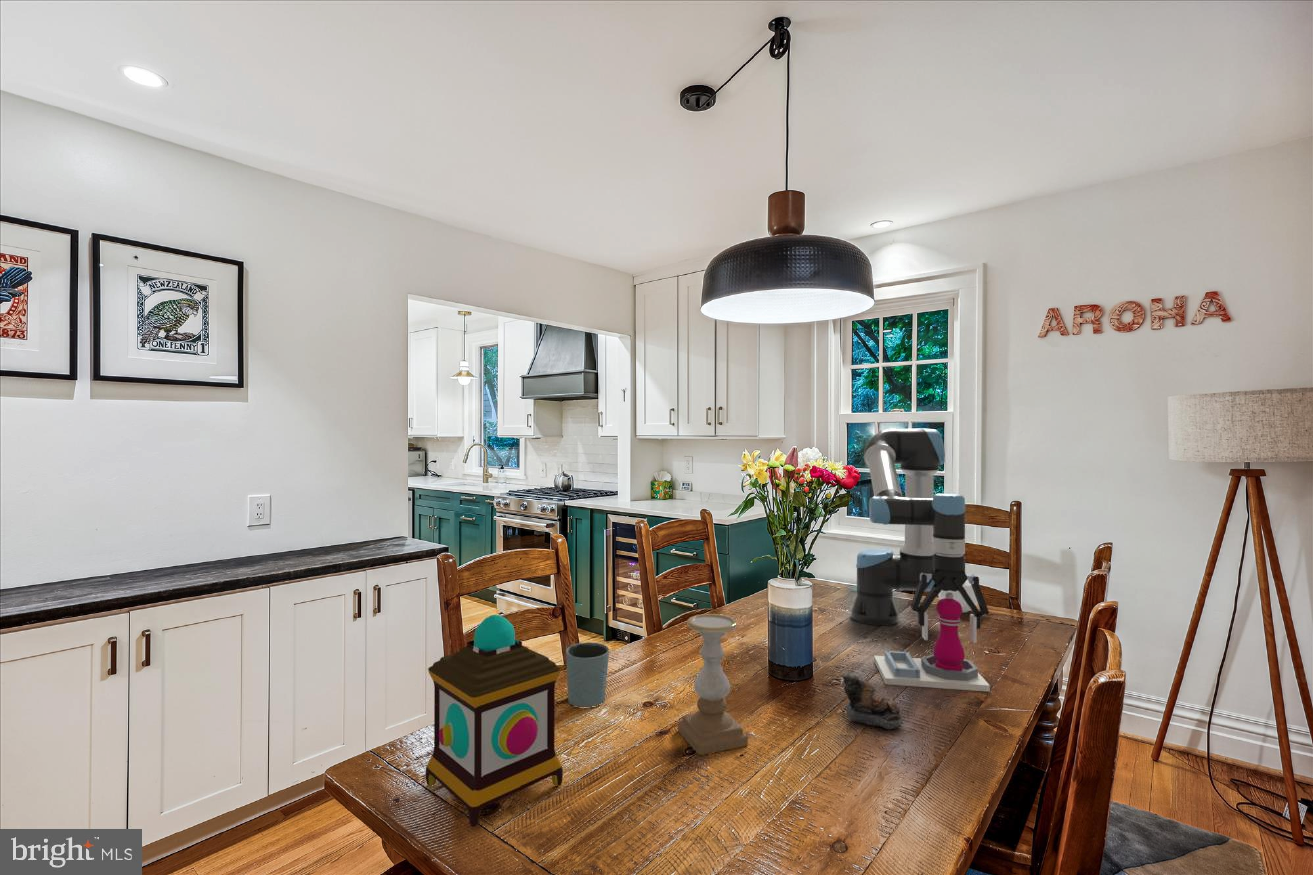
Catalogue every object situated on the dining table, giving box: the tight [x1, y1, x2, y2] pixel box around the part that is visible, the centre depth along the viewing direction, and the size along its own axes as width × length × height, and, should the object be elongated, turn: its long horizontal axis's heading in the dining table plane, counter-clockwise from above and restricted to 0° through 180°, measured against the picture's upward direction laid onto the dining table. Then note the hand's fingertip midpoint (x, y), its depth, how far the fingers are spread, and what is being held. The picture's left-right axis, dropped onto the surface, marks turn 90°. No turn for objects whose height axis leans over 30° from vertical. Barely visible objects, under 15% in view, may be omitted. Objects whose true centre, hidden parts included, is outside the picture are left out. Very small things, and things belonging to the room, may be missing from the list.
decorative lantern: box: [425, 614, 564, 828], centre depth 105 cm, size 20×20×30 cm
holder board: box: [873, 650, 991, 693], centre depth 155 cm, size 16×24×4 cm, turn 80°
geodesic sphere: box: [937, 580, 978, 613], centre depth 213 cm, size 14×14×14 cm
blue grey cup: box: [565, 642, 610, 707], centre depth 139 cm, size 10×10×12 cm
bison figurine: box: [842, 673, 903, 730], centre depth 128 cm, size 12×7×10 cm, turn 70°
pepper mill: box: [932, 592, 966, 671], centre depth 154 cm, size 7×7×20 cm
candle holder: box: [677, 613, 749, 756], centre depth 122 cm, size 11×11×24 cm
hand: (948, 639), depth 154 cm, fingers open, 11 cm apart
